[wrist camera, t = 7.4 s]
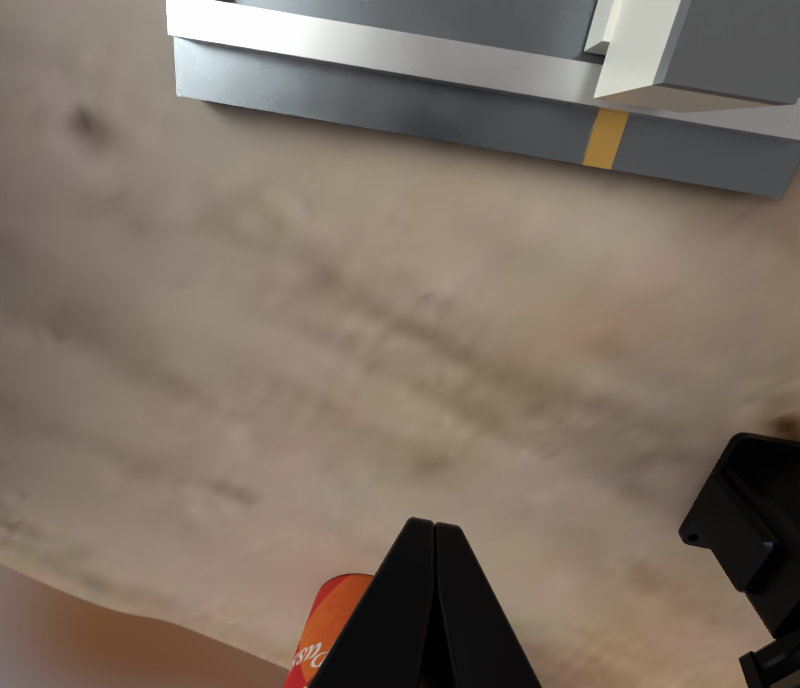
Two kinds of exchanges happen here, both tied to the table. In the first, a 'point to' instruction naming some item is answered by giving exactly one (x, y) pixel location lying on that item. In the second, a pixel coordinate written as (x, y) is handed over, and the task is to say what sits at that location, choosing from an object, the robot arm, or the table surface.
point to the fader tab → (697, 53)
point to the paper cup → (325, 625)
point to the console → (468, 84)
